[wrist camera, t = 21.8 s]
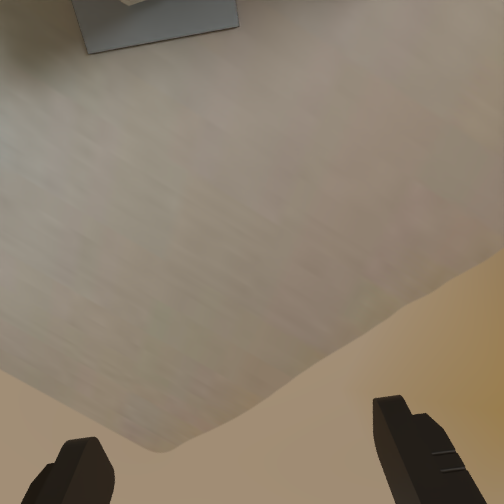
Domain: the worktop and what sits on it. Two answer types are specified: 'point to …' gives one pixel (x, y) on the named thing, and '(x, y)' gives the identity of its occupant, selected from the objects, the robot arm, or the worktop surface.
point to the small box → (131, 2)
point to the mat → (149, 21)
